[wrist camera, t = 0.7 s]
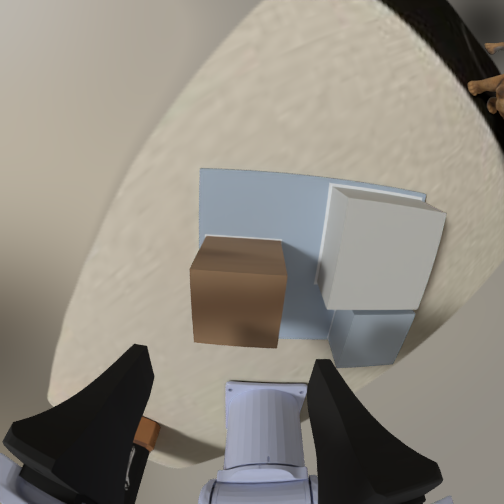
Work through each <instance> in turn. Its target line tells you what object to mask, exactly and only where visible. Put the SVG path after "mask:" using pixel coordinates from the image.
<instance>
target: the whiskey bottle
mask: <svg viewBox="0 0 504 504" xmlns="http://www.w3.org/2000/svg"><path fill="white" fill-rule="evenodd" d="M160 428H161V427H160V426H159V425H158V424H157V423H156V422H154V421H151V420H149V419H147V418H144V417H142V418H141V420H140V423H139V426H138V428H137V431H136V434H135V437H134V440H133V444H132V449H131V453H130V458H129V463H128V469H127V475H126V483H125V492H124V504H135V501H136V497H137V493H138V490H139V486H140V483H141V479H142V476H143V473H144V469H145V466H146V462H147V459H148V456H149V454H150V453H151V451H152V450H153V449H154V446H155V443H156V440H157V437H158V434H159V431H160Z"/></svg>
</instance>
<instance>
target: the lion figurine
mask: <svg viewBox="0 0 504 504" xmlns="http://www.w3.org/2000/svg"><path fill="white" fill-rule="evenodd" d="M485 49H486V50H487V51H488V53H489V54H494V53H495V52H496V51H499V50H504V43H503V42H500V43H486V44H485ZM468 89H469V92H470V93H471V94H472V95H474V96H476V95H477V94H481V93H483V92H484V91H496V97H491V98H489V100H488V102H487V108H488V110H489V112H491V113H492V114H494V113H496V112H497V110H498V111H499V113H500V115H501V116H502V117H503V119H504V74H503V75H499V76H495V77H492V78H488V79H485V80H479V81H470V82H469V83H468Z"/></svg>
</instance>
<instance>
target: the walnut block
mask: <svg viewBox="0 0 504 504" xmlns="http://www.w3.org/2000/svg"><path fill="white" fill-rule="evenodd" d="M287 277H288V275H287V270H286V265H285V260H284V255H283V250H282V245H281V241H279V240H264V239H249V238H234V237H218V236H206V237H205V239H204V241H203V243H202V245H201V247H200V249H199V251H198V253H197V255H196V257H195V259H194V261H193V263H192V265H191V267H190V288H191V306H192V321H193V334H194V342H197V343H206V344H216V345H228V346H241V347H258V348H277V344H278V338H279V331H280V325H281V318H282V312H283V305H284V298H285V291H286V284H287Z"/></svg>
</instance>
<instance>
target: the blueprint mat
mask: <svg viewBox="0 0 504 504" xmlns="http://www.w3.org/2000/svg"><path fill="white" fill-rule="evenodd" d="M332 186H334V187H342V188H350V189H357V190H364V191H371V192H377V193H384V194H390V195H396V196H401V197H407V198H412V199H418V200H421V201H423V202H425V198H426V194H424V193H420V192H415V191H410V190H404V189H399V188H394V187H388V186H382V185H376V184H370V183H364V182H357V181H350V180H343V179H335V178H327V177H319V176H310V175H301V174H290V173H279V172H266V171H252V170H234V169H209V168H200V185H199V249H200V247H201V245H202V243H203V241H204V239H205V237H206V236H218V237H234V238H249V239H264V240H279V241H281V245H282V250H283V255H284V260H285V265H286V270H287V275H288V277H287V284H286V291H285V298H284V305H283V312H282V318H281V325H280V331H279V338H280V339H327V340H328V337H329V333H330V330H331V326H332V323H333V319H334V315H335V311H336V310H328V309H326V306H325V303H324V300H323V297H322V295H321V292H320V289H319V286H318V284H317V279H318V274H319V268H320V263H321V257H322V251H323V245H324V239H325V233H326V227H327V220H328V213H329V206H330V199H331V191H332Z"/></svg>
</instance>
